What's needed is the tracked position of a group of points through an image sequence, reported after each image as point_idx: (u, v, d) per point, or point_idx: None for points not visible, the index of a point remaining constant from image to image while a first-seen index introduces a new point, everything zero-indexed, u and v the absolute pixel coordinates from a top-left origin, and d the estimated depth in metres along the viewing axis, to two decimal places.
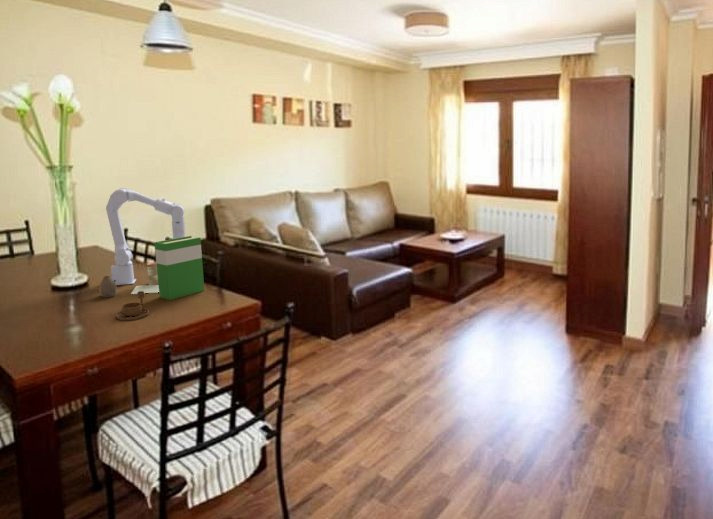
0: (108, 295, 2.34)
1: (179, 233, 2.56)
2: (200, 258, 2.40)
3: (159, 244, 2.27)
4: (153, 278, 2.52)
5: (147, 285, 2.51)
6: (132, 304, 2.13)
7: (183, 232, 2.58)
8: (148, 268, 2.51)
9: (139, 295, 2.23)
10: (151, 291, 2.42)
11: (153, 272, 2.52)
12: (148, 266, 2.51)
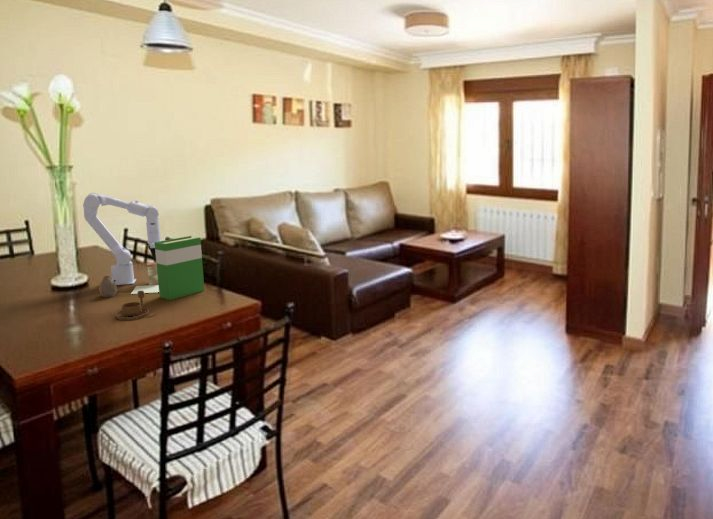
0: (108, 295, 2.34)
1: (153, 234, 2.56)
2: (200, 258, 2.40)
3: (159, 244, 2.27)
4: (153, 278, 2.52)
5: (147, 285, 2.51)
6: (132, 304, 2.13)
7: (158, 233, 2.57)
8: (148, 268, 2.51)
9: (139, 295, 2.23)
10: (151, 291, 2.42)
11: (153, 272, 2.52)
12: (148, 266, 2.51)
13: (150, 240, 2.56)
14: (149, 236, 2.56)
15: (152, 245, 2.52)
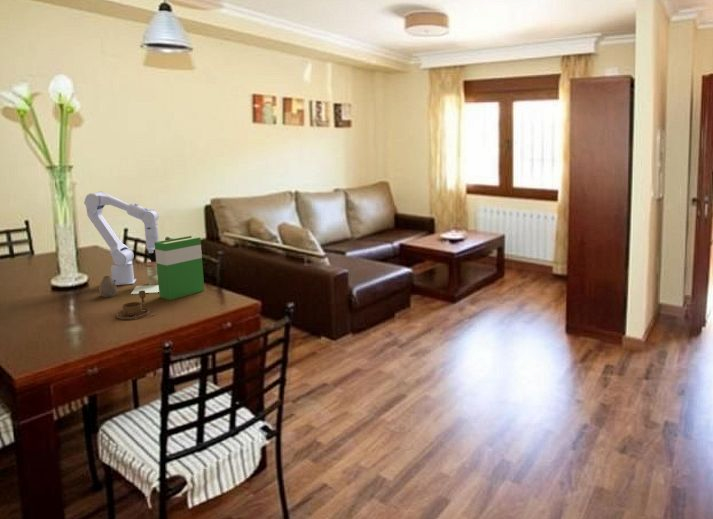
0: (108, 295, 2.34)
1: (152, 239, 2.51)
2: (200, 258, 2.40)
3: (159, 244, 2.27)
4: (153, 278, 2.52)
5: (147, 285, 2.51)
6: (133, 303, 2.14)
7: (156, 238, 2.52)
8: (148, 268, 2.50)
9: (140, 294, 2.23)
10: (151, 291, 2.42)
11: (153, 272, 2.51)
12: (148, 266, 2.50)
13: (148, 245, 2.51)
14: (147, 241, 2.51)
15: (150, 250, 2.47)
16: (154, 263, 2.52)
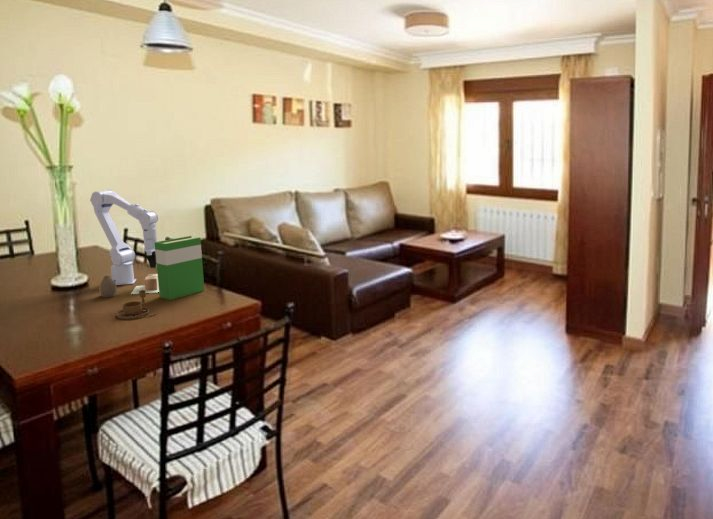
0: (108, 295, 2.34)
1: (150, 241, 2.46)
2: (200, 258, 2.40)
3: (159, 244, 2.27)
4: None
5: None
6: (133, 303, 2.14)
7: (155, 240, 2.47)
8: None
9: (140, 294, 2.24)
10: (151, 291, 2.42)
11: None
12: None
13: (147, 247, 2.47)
14: (146, 243, 2.46)
15: (149, 252, 2.43)
16: (152, 285, 2.43)
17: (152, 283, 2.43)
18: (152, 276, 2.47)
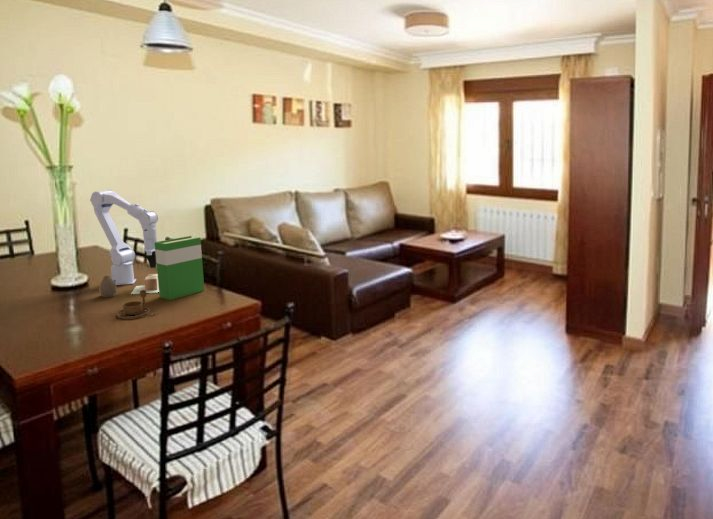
0: (108, 295, 2.34)
1: (150, 241, 2.46)
2: (200, 258, 2.40)
3: (159, 244, 2.27)
4: None
5: None
6: (133, 303, 2.14)
7: (155, 240, 2.47)
8: None
9: (141, 294, 2.24)
10: (151, 291, 2.42)
11: None
12: None
13: (147, 247, 2.47)
14: (146, 243, 2.46)
15: (149, 252, 2.43)
16: (152, 285, 2.43)
17: (152, 283, 2.43)
18: (152, 276, 2.47)
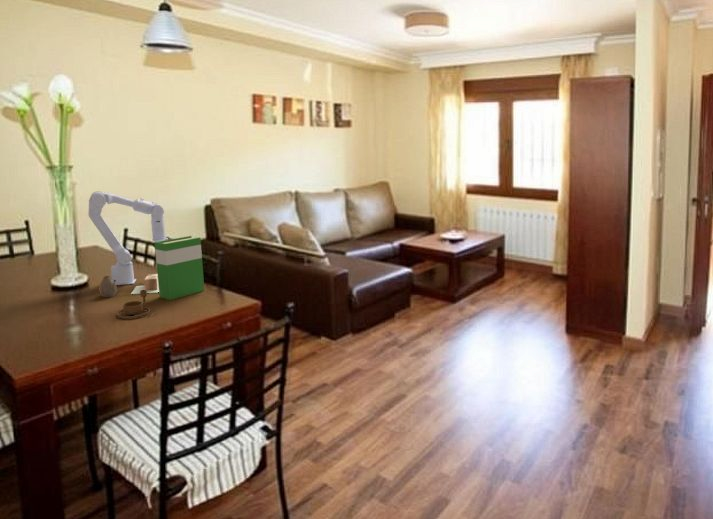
0: (108, 295, 2.34)
1: (158, 232, 2.58)
2: (200, 258, 2.40)
3: (159, 244, 2.27)
4: None
5: None
6: (133, 303, 2.14)
7: (162, 231, 2.59)
8: None
9: (141, 294, 2.24)
10: (151, 291, 2.42)
11: None
12: None
13: (155, 238, 2.58)
14: (154, 234, 2.58)
15: None
16: (152, 285, 2.43)
17: (152, 283, 2.43)
18: (152, 276, 2.47)
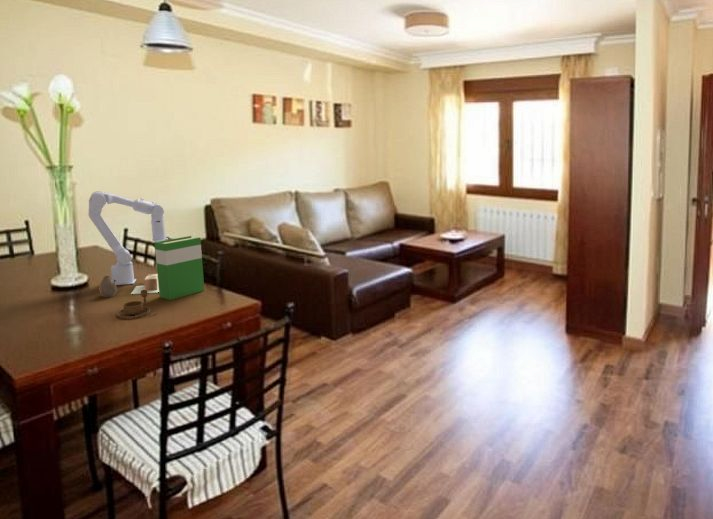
0: (108, 295, 2.34)
1: (158, 232, 2.58)
2: (200, 258, 2.40)
3: (159, 244, 2.27)
4: None
5: None
6: (134, 303, 2.15)
7: (162, 231, 2.59)
8: None
9: (142, 294, 2.24)
10: (151, 291, 2.42)
11: None
12: None
13: (155, 238, 2.58)
14: (154, 234, 2.58)
15: None
16: (152, 285, 2.43)
17: (152, 283, 2.43)
18: (152, 276, 2.47)
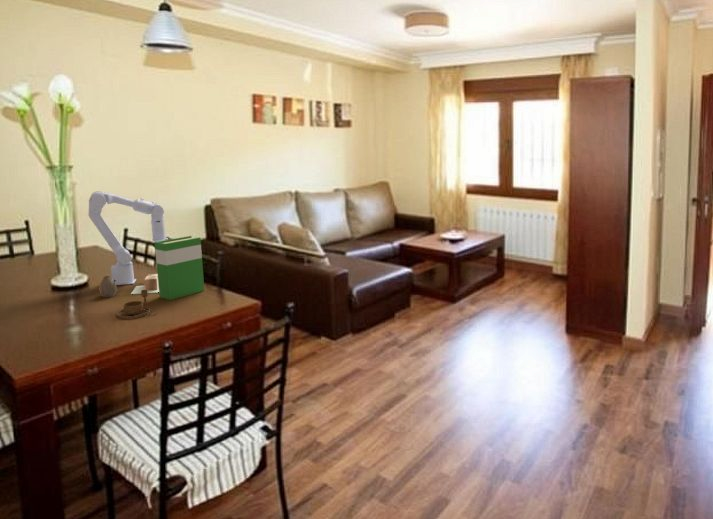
0: (108, 295, 2.34)
1: (158, 232, 2.58)
2: (200, 258, 2.40)
3: (159, 244, 2.27)
4: None
5: None
6: (134, 303, 2.15)
7: (162, 231, 2.59)
8: None
9: (142, 294, 2.25)
10: (151, 291, 2.42)
11: None
12: None
13: (155, 238, 2.58)
14: (154, 234, 2.58)
15: None
16: (152, 285, 2.43)
17: (152, 283, 2.43)
18: (152, 276, 2.47)
